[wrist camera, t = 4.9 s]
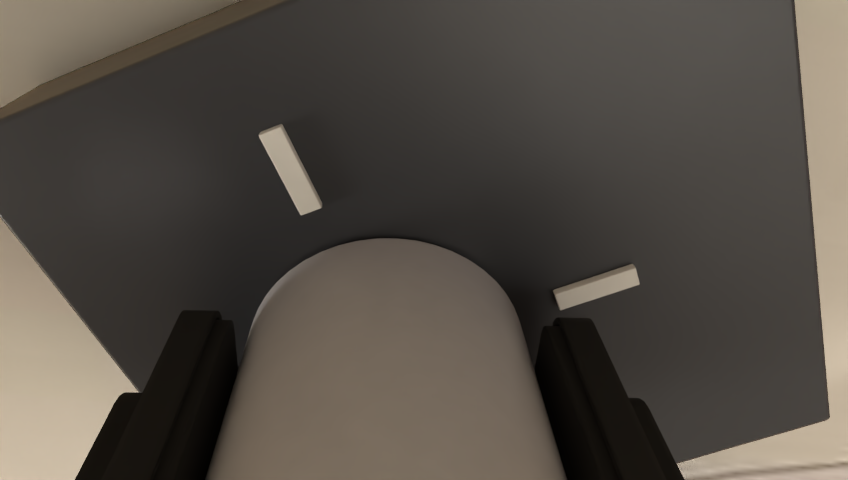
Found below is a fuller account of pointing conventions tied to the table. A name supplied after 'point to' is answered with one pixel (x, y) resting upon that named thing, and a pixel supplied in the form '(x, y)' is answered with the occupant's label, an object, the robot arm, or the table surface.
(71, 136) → the console
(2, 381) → the table surface
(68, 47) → the table surface
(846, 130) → the table surface
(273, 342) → the dial
